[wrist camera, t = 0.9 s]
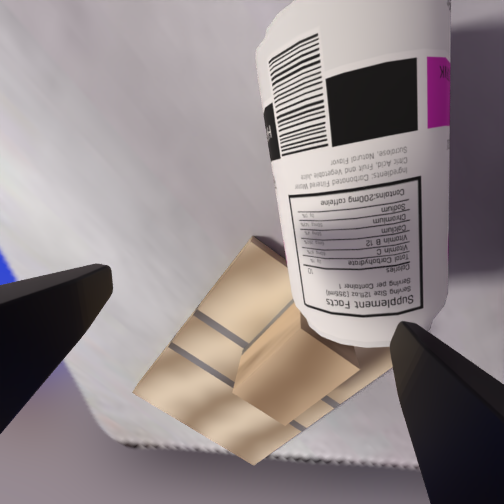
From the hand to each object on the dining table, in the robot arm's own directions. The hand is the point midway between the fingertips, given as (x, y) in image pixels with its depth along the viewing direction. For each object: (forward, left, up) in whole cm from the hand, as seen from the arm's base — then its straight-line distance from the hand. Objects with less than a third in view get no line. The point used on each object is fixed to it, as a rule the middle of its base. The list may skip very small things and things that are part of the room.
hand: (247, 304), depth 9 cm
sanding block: (-8, +8, -12) cm, 17 cm away
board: (-8, +14, -13) cm, 21 cm away
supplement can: (+3, -10, -9) cm, 14 cm away
